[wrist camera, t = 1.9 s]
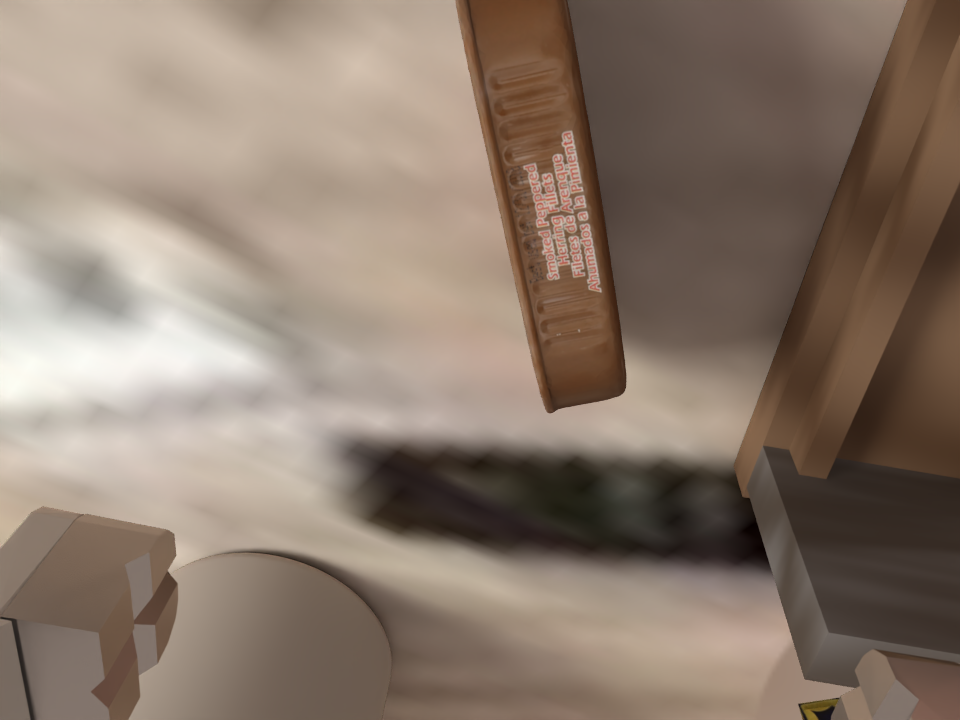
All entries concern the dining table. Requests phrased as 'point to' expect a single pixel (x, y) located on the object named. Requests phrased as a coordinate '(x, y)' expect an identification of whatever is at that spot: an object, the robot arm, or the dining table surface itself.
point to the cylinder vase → (267, 646)
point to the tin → (547, 193)
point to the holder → (874, 384)
